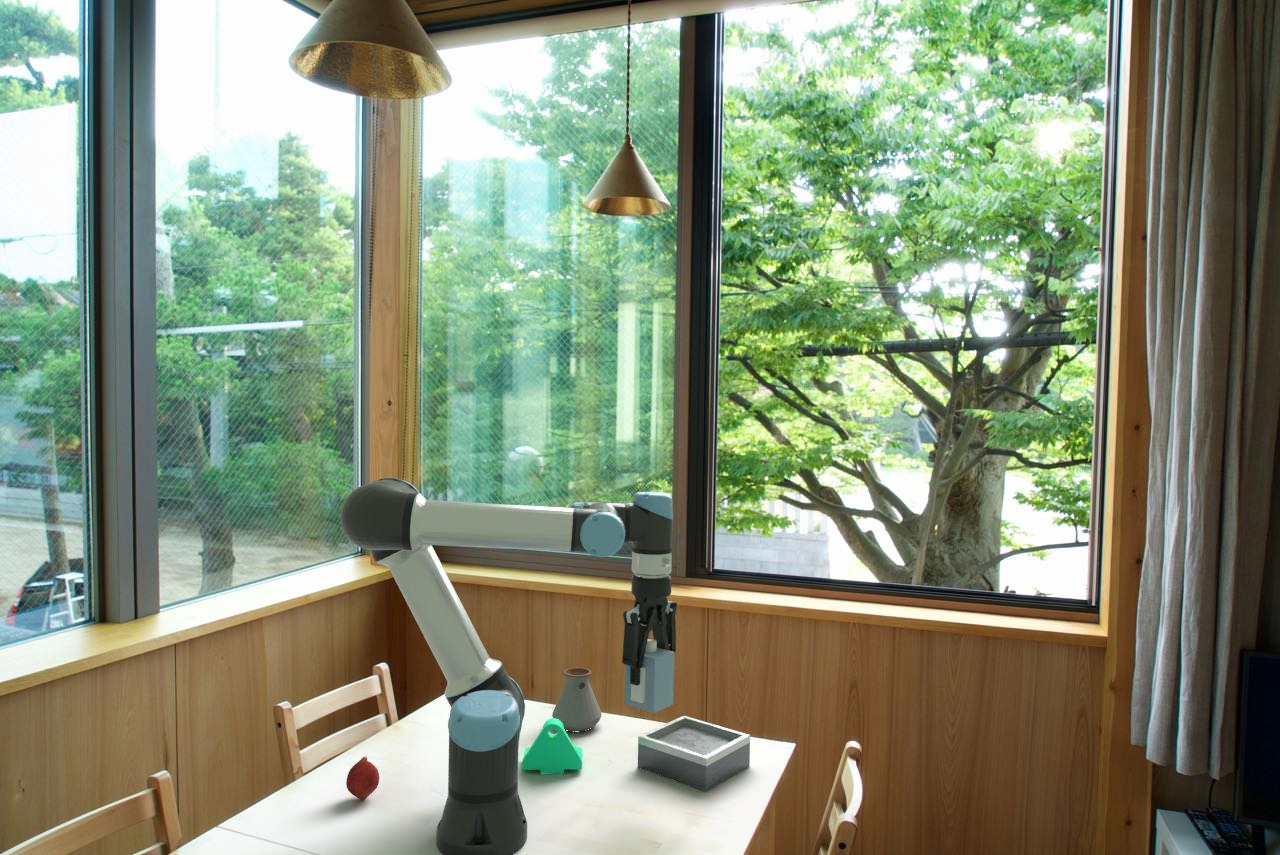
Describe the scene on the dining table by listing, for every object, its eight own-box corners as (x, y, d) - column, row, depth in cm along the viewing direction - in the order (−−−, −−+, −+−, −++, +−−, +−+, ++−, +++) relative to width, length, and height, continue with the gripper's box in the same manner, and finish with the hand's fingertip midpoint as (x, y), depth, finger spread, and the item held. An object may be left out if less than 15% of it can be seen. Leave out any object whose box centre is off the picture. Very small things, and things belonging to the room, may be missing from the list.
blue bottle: (653, 712, 152) (655, 647, 151) (624, 704, 156) (625, 640, 156) (673, 704, 156) (674, 641, 156) (644, 696, 161) (645, 634, 161)
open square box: (705, 792, 160) (706, 758, 160) (637, 767, 171) (638, 736, 171) (749, 766, 172) (750, 735, 172) (683, 744, 183) (683, 715, 183)
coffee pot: (551, 718, 198) (552, 655, 198) (598, 716, 199) (600, 654, 199) (554, 754, 177) (556, 684, 177) (608, 752, 178) (609, 682, 178)
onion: (344, 808, 151) (345, 764, 151) (347, 794, 156) (347, 751, 156) (378, 804, 152) (379, 761, 152) (379, 791, 158) (380, 749, 158)
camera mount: (582, 759, 175) (582, 710, 175) (581, 774, 167) (582, 723, 167) (524, 759, 174) (525, 710, 174) (522, 775, 166) (522, 724, 166)
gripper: (635, 584, 146) (632, 714, 146) (697, 570, 161) (694, 689, 161) (603, 578, 151) (600, 704, 151) (666, 565, 166) (663, 680, 166)
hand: (648, 696), depth 156 cm, fingers closed on blue bottle, 6 cm apart
